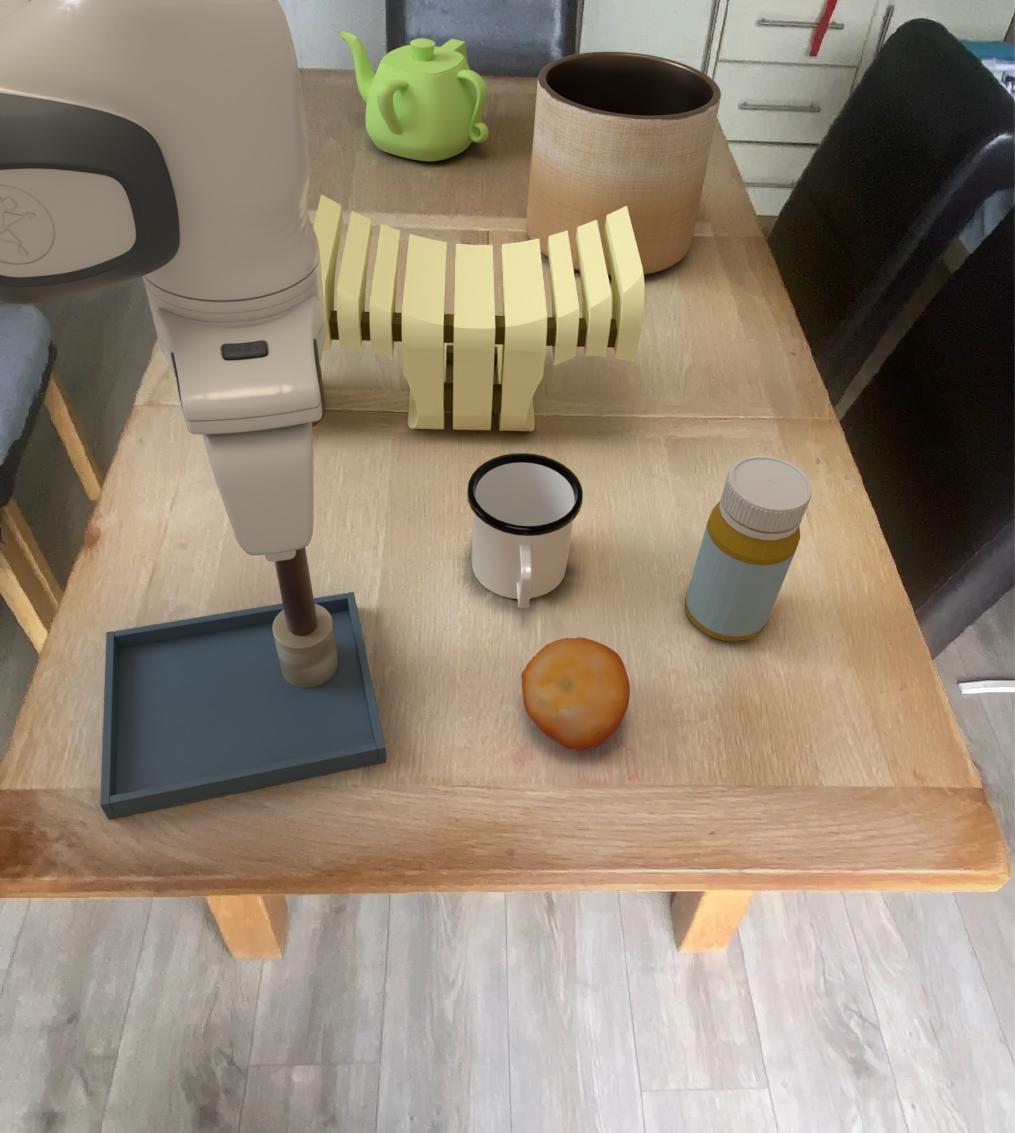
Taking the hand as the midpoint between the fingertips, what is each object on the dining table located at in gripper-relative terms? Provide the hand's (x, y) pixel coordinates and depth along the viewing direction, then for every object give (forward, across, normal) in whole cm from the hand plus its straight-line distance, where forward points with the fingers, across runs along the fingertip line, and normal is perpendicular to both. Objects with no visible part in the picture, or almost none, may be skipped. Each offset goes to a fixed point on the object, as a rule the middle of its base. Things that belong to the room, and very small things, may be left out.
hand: (273, 500), depth 58 cm
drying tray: (+18, +2, -5) cm, 19 cm away
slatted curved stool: (+18, -32, +21) cm, 43 cm away
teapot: (+18, -98, +28) cm, 104 cm away
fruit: (+18, +9, +19) cm, 28 cm away
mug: (+18, -6, +19) cm, 27 cm away
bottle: (+18, +2, +35) cm, 40 cm away
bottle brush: (+18, 0, +1) cm, 18 cm away
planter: (+18, -62, +47) cm, 80 cm away
